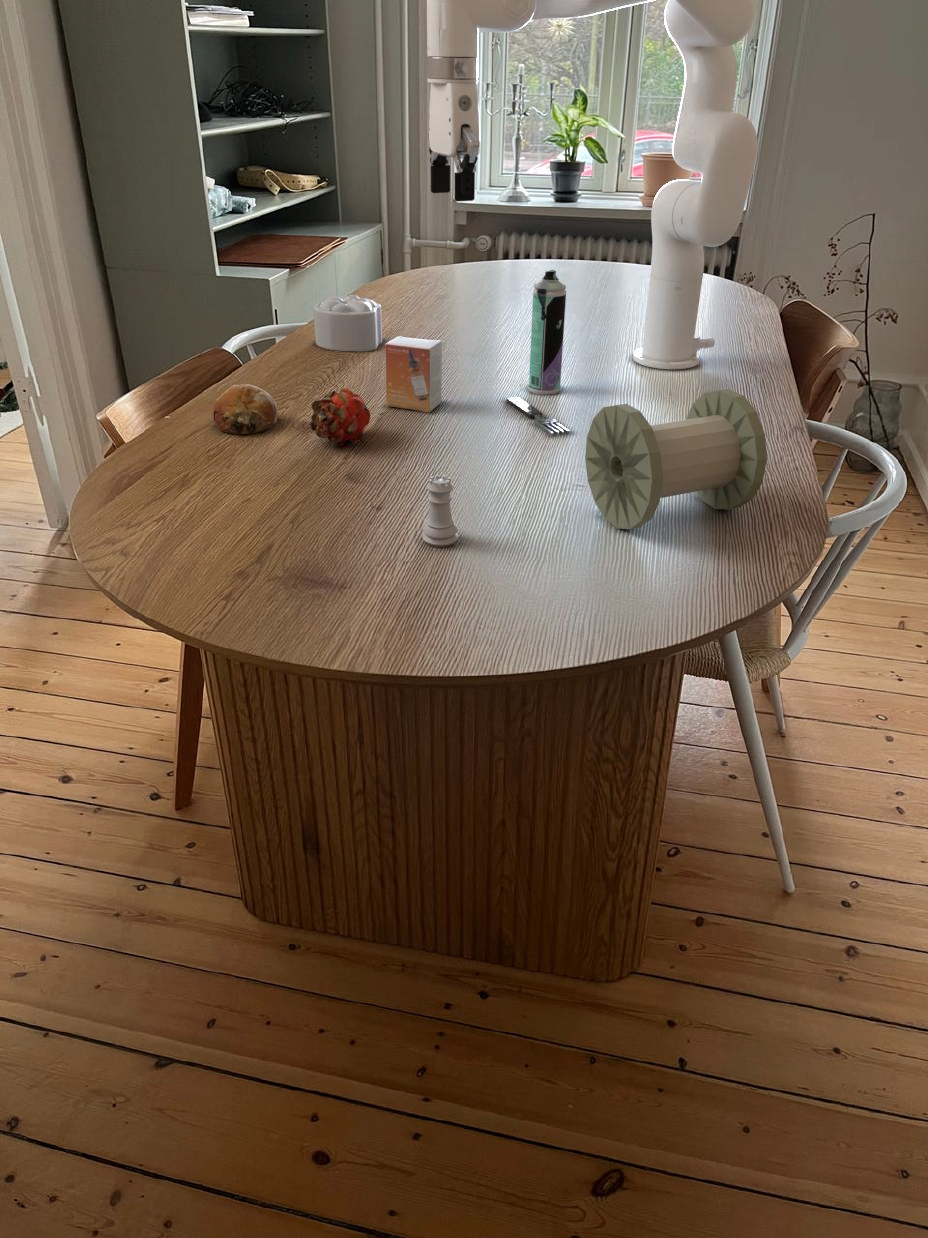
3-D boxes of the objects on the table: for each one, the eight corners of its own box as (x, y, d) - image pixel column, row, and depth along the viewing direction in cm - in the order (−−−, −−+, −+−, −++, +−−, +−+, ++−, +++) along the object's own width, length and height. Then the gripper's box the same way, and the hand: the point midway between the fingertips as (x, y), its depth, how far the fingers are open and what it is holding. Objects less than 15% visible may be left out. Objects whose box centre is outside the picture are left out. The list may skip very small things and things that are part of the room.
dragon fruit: (325, 466, 138) (348, 448, 149) (370, 435, 135) (390, 419, 146) (290, 416, 136) (316, 402, 147) (335, 384, 133) (358, 372, 144)
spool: (643, 548, 113) (658, 429, 105) (581, 500, 125) (590, 390, 117) (754, 525, 119) (776, 411, 111) (685, 482, 130) (700, 375, 123)
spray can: (558, 395, 162) (565, 274, 151) (526, 393, 163) (532, 272, 152) (561, 386, 166) (569, 267, 156) (531, 383, 167) (536, 266, 157)
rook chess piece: (421, 532, 116) (420, 472, 112) (457, 531, 117) (457, 471, 112) (422, 548, 112) (421, 487, 108) (460, 547, 113) (460, 486, 109)
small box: (385, 407, 156) (383, 343, 151) (399, 396, 161) (397, 334, 155) (430, 413, 154) (429, 348, 148) (442, 402, 158) (442, 339, 153)
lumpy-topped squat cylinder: (372, 352, 183) (370, 306, 179) (308, 348, 185) (305, 303, 181) (385, 338, 192) (383, 294, 188) (324, 334, 194) (321, 291, 189)
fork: (503, 402, 159) (503, 398, 158) (520, 400, 160) (520, 396, 159) (551, 436, 145) (551, 431, 145) (569, 433, 146) (569, 428, 146)
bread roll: (286, 442, 151) (292, 392, 150) (254, 436, 142) (260, 382, 141) (232, 435, 154) (238, 385, 153) (197, 428, 144) (203, 375, 143)
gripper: (500, 73, 134) (496, 202, 143) (453, 69, 148) (452, 188, 157) (451, 73, 132) (451, 205, 141) (408, 69, 145) (410, 190, 154)
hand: (452, 196), depth 149 cm, fingers open, 9 cm apart
